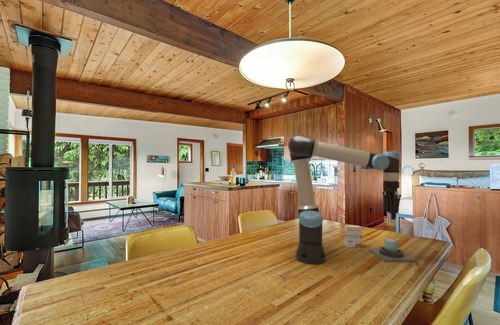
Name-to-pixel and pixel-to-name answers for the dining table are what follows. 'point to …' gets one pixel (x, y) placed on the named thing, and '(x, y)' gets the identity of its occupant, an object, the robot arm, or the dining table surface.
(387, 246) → the cap
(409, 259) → the square plate with ring
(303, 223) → the robot arm
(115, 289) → the dining table surface
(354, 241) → the ink box
